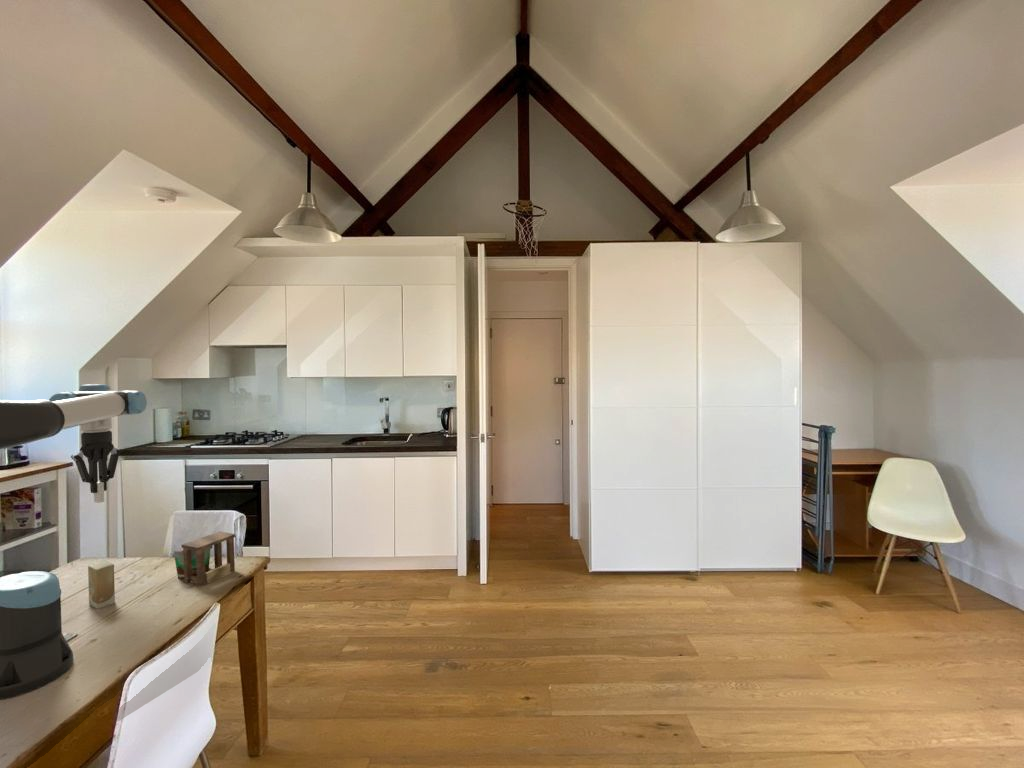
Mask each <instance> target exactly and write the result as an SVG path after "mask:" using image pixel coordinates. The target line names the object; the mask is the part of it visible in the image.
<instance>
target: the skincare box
mask: <svg viewBox="0 0 1024 768" xmlns="http://www.w3.org/2000/svg"><path fill="white" fill-rule="evenodd" d="M87 568H88V569H87V572H88V574H87V575H88V604H89V605H90V606H92V608H95V609H97V610H98V609H101V608H102V609H103V608H104V607H108V606H110V605H113V604H115V603H116V593H115V592H116V590H115V588H116V587H115V564H114V563H112V562H110V561H107V560H101V561H98V562H95V563H91V564H88V565H87Z"/></svg>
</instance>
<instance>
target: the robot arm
mask: <svg viewBox="0 0 1024 768" xmlns="http://www.w3.org/2000/svg"><path fill="white" fill-rule="evenodd" d="M147 404H148V402H147V396H146V394H145V393H144V392H143V391H140V390H131V389H129V390H111V387H110V385H108V384H99V383H98V384H81V385H79V388H78V391H75V390H74V391H63V392H56V393H54V394H53V395H52V396H50V397H49V399H33V400H10V399H0V450H3V449H4V450H5V449H10V448H13V447H18V446H22V445H26V444H29V443H33V442H34V443H35V442H37V441H40V440H41V441H42V440H44V439H47V438H48V439H49V438H51V437H54V436H57V435H58V434H59V433H60V432H61V431H63V430H66V429H70V428H74V427H79V426H80V431H81V434H80V438H81V439H80V440H81V441H80V443H81V447H80V449H79V451H78V452H77V453H75V454H72V455H71V456H70V458H71V459H72V460H73V461H74V462H75V465H76V468H77V470H78V473H79V475H80V476H79V477H80V479H81V481H82V483H87V484H89V487H90V488H89V490H90V493H91V494H93V502H94V503H99V504H100V503H103V502H105V492H106V491H107V490H108V485H107V484H108V482H109V480H111V479H113V478H114V477H115V473H116V469H117V466H118V461H119V457H120V455H121V454H122V452H123V449H121V448H117V447H115V446H114V444H113V432H112V431H111V429H112V428H113V427H112V423H113V422H112V418H114V417H118V416H119V417H120V416H123V415H130V416H131V415H139V414H143V412H145V410H146V408H147ZM109 455H110V457H109V460H108V456H109ZM84 457H85V458H86V459H87V463H88V468H87V466H86V463H85V460H84ZM61 595H62V589H61V585H60V580H59V578H58V576H57V575H56V574H54V573H53V572H49V571H43V570H34V571H33V570H31V571H21V572H20V573H11V574H6V575H3V576H0V700H6V699H9V698H14V697H17V696H20V695H23V694H26V693H29V692H31V691H34V690H36V689H39V688H41V687H43V686H45V685H47V684H49V683H51V682H53V681H55V680H56V679H58V678H60V677H61V676H63V675H64V674H65V673H66V672H68V671H69V670H70V669H71V667H72V666H73V664H74V653H73V650H72V648H71V646H70V645H69V643H68V640H67V639H66V638H65V636H64V634H63V630H62V629H63V627H62V603H61V602H62V599H61Z"/></svg>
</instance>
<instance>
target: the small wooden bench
mask: <svg viewBox="0 0 1024 768" xmlns="http://www.w3.org/2000/svg"><path fill="white" fill-rule="evenodd" d="M235 538H236V534H235V533H230V532H224V531H218V532H214V533H211V534H207V535H205V536H203V537H202V536H201V537H199V538H197V539H194V540H191V541H188V542H186V543H183V544H182V543H181V548H182V549H183V550H182V551H183V556H184V579H183V581H184V583H186V584H189V583H195V584H197V586H198V587H202V586H204V585H206V584H210V583H212V582H215V581H217V580H220V579H221V578H223V577H226V576H228V575H230V574H231V573H233V572H235V571H236V570H235V569H236V568H235ZM225 541H226V542H225ZM222 542H225V543H226V545H225V546H226V563H225V564H223V552H222V551H223V549H222V548H223V547H222ZM212 545H213V550H214V551H213V552H214V557H213V558H214V568H213V569H211V570H210V569H209V571H208V572H206V573H205V556H204V548H207V547H210V546H212ZM191 550H196V562H197V576H193V575H192V551H191Z"/></svg>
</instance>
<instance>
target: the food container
mask: <svg viewBox="0 0 1024 768" xmlns="http://www.w3.org/2000/svg"><path fill="white" fill-rule="evenodd" d="M213 548H214V545H212V546H210V547H207V548H204V556H205V573H206V572H208V571H210V558H211V550H212V549H213ZM191 551H192V575H193V576H197V562H196V550H191ZM172 558H173V559H174V561H175V562H174V563H175V568H176V574H177V579H179V580H184V556H183V550H181V551H176V550H174V551H173V553H172Z"/></svg>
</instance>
